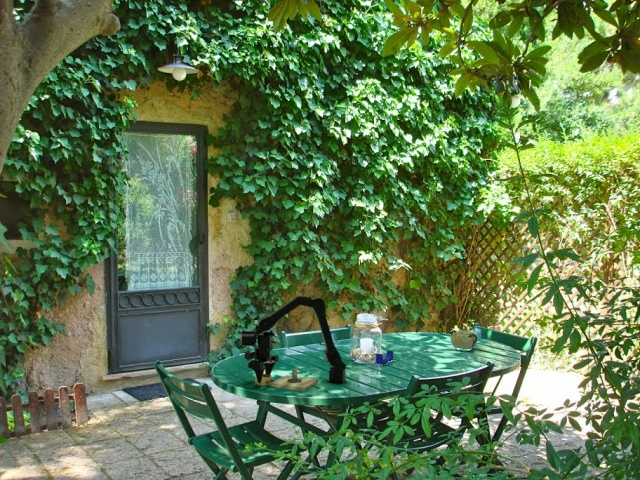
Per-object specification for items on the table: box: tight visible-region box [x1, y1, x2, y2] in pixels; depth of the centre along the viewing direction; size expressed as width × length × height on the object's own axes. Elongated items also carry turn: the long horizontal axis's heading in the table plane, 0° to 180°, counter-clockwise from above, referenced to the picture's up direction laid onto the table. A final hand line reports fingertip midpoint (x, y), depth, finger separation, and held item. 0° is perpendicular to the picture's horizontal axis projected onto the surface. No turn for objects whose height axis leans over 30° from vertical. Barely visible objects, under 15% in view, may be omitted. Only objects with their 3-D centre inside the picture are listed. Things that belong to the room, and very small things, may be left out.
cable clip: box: [375, 350, 394, 365], centre depth 325 cm, size 12×4×6 cm, turn 142°
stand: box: [269, 367, 319, 392], centre depth 280 cm, size 16×16×7 cm
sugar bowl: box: [450, 324, 478, 349], centre depth 364 cm, size 20×15×15 cm
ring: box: [254, 373, 272, 387], centre depth 281 cm, size 7×7×4 cm
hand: (263, 380), depth 281 cm, fingers closed on ring, 7 cm apart
